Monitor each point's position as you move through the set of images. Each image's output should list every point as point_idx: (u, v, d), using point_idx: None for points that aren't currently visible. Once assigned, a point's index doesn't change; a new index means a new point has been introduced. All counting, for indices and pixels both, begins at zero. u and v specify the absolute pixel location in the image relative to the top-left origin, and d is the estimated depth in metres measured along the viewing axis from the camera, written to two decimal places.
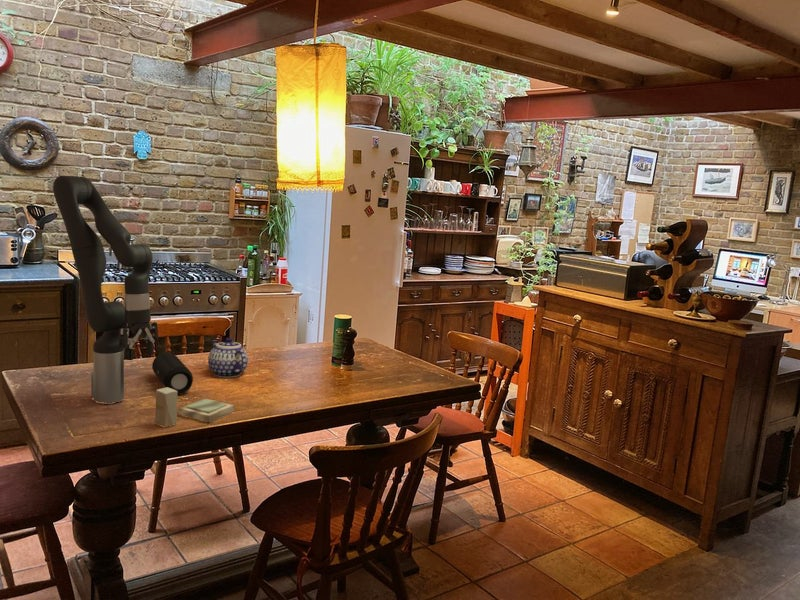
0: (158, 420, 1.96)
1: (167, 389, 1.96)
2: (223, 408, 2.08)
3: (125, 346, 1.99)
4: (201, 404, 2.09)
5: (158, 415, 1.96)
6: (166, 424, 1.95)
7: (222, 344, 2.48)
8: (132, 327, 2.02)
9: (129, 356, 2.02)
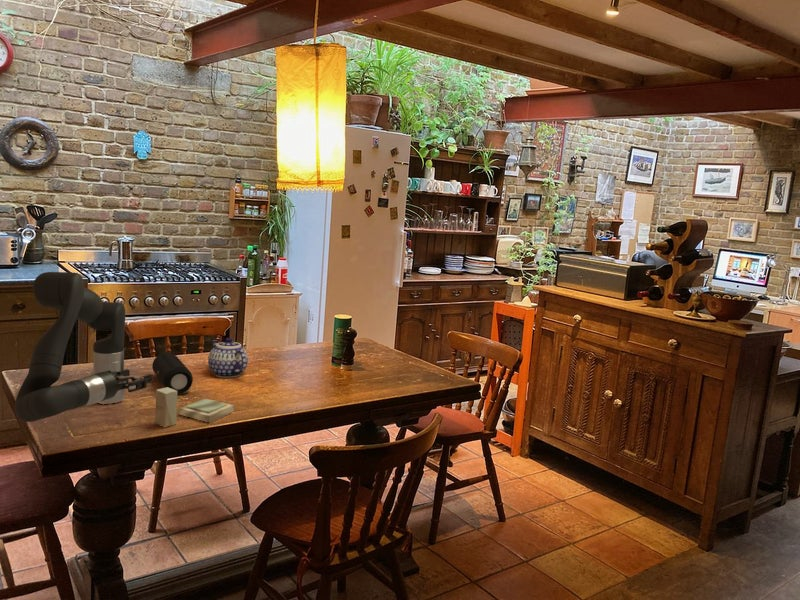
0: (158, 420, 1.96)
1: (167, 389, 1.96)
2: (223, 408, 2.08)
3: None
4: (201, 404, 2.09)
5: (158, 415, 1.96)
6: (166, 424, 1.95)
7: (222, 344, 2.48)
8: None
9: None
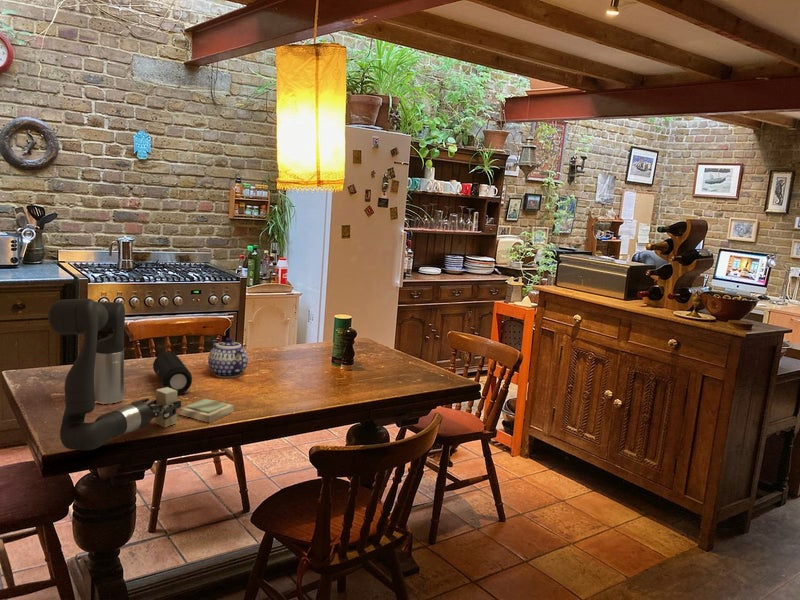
0: (158, 420, 1.96)
1: (167, 389, 1.96)
2: (223, 408, 2.08)
3: None
4: (201, 404, 2.09)
5: None
6: (166, 424, 1.95)
7: (222, 344, 2.48)
8: None
9: None
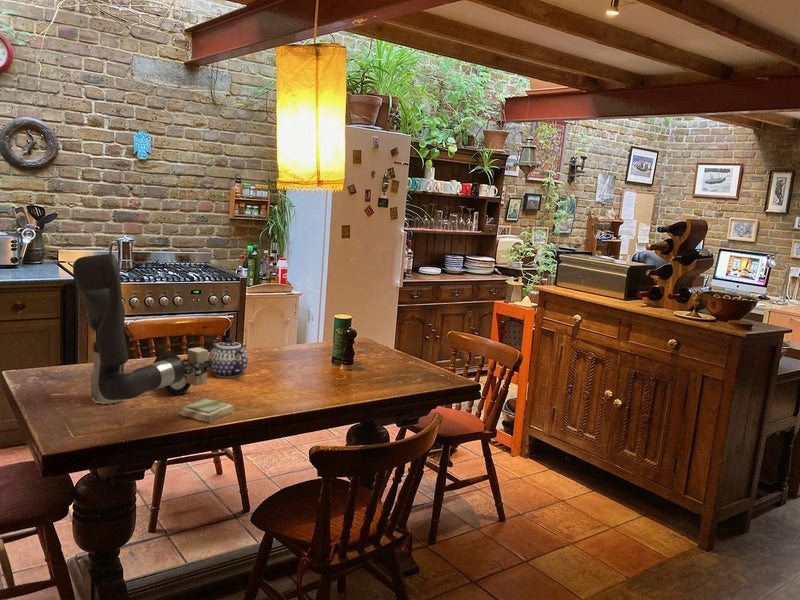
0: (189, 378, 2.02)
1: (198, 349, 2.03)
2: (223, 408, 2.08)
3: None
4: (201, 404, 2.09)
5: (189, 374, 2.02)
6: (197, 382, 2.01)
7: (222, 344, 2.48)
8: None
9: None
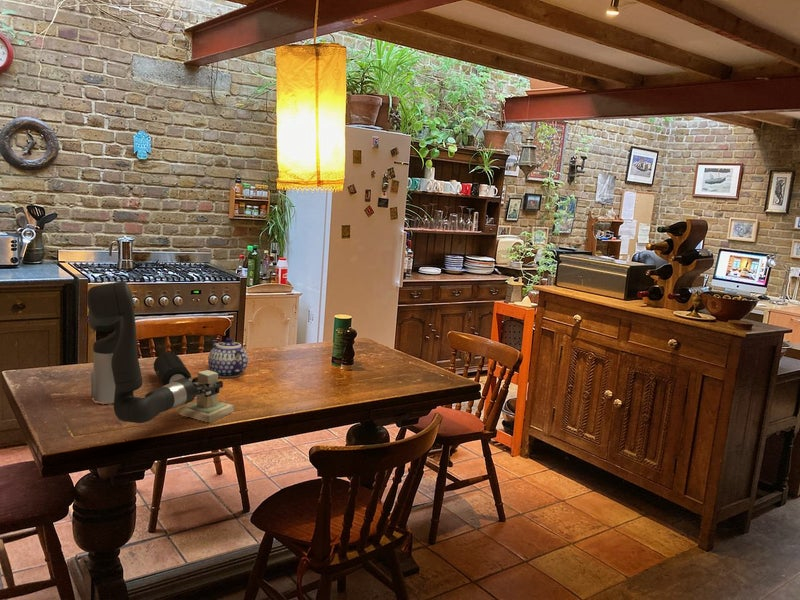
0: (199, 401, 2.07)
1: (208, 371, 2.07)
2: (223, 408, 2.08)
3: None
4: None
5: (200, 397, 2.06)
6: (208, 404, 2.06)
7: (222, 344, 2.48)
8: None
9: None
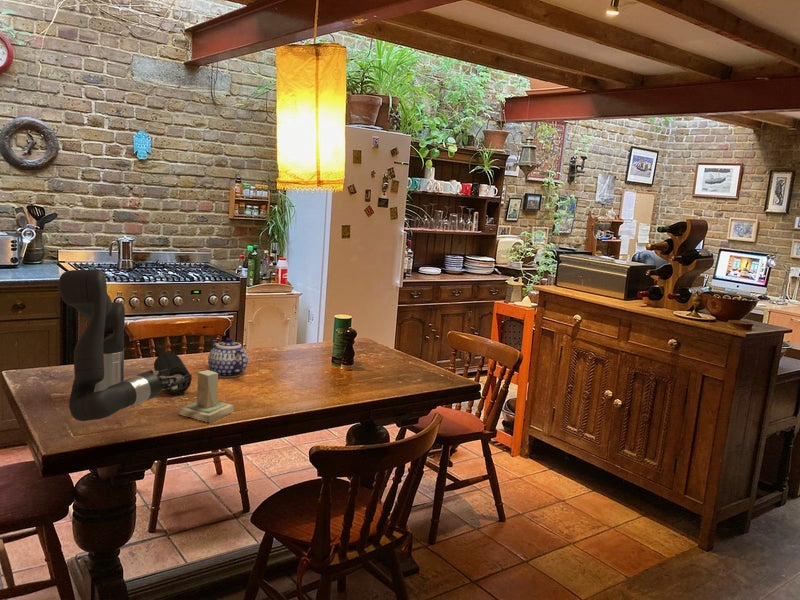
0: (199, 401, 2.07)
1: (208, 371, 2.07)
2: (223, 408, 2.08)
3: None
4: None
5: (200, 397, 2.06)
6: (208, 404, 2.06)
7: (222, 344, 2.48)
8: None
9: None
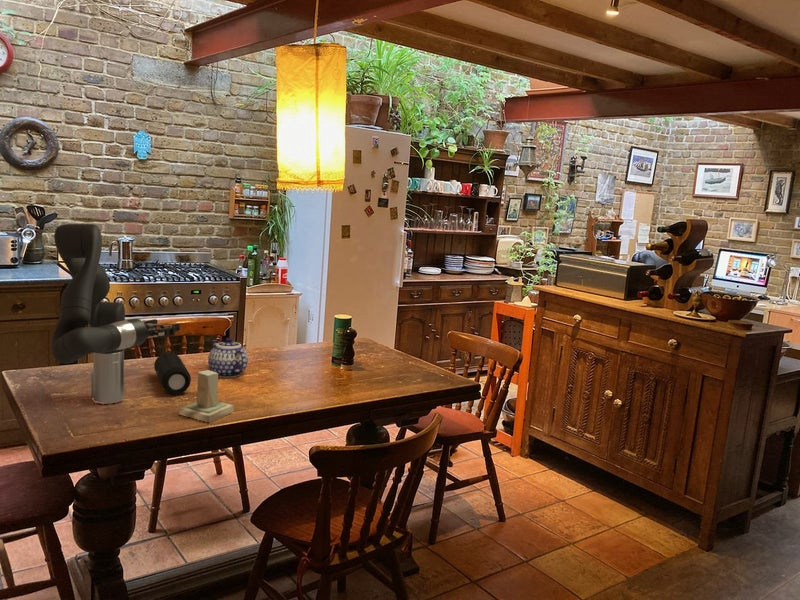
0: (199, 401, 2.07)
1: (208, 371, 2.07)
2: (223, 408, 2.08)
3: None
4: None
5: (200, 397, 2.06)
6: (208, 404, 2.06)
7: (222, 344, 2.48)
8: None
9: None
